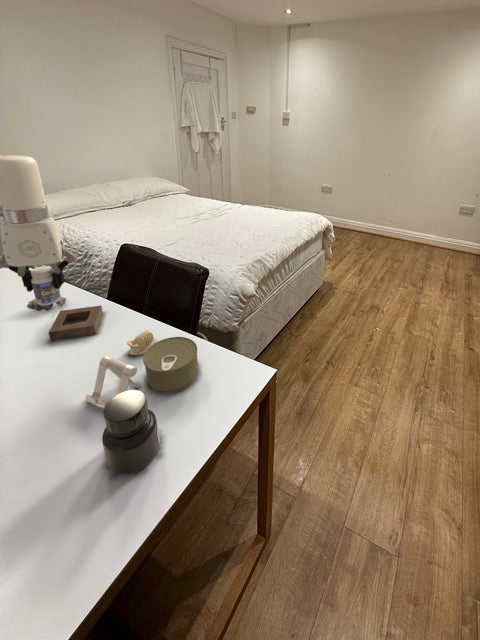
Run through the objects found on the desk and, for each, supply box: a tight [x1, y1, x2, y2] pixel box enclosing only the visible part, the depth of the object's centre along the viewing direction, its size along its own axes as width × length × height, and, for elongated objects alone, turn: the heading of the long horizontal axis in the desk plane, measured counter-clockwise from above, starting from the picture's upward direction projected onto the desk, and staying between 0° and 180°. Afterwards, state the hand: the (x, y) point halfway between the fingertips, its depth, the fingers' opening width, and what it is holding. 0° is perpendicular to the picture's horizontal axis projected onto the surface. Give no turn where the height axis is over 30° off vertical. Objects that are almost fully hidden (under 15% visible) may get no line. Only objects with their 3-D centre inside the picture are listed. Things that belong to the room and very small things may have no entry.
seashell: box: [26, 296, 67, 312], centre depth 101 cm, size 5×5×10 cm
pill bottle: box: [30, 265, 62, 305], centre depth 76 cm, size 5×5×8 cm
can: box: [143, 336, 199, 395], centre depth 78 cm, size 12×12×7 cm
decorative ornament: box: [126, 330, 155, 356], centre depth 86 cm, size 4×8×5 cm, turn 157°
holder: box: [48, 305, 104, 342], centre depth 94 cm, size 11×11×3 cm
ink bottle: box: [101, 389, 161, 475], centre depth 59 cm, size 10×9×12 cm
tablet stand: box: [85, 355, 139, 410], centre depth 71 cm, size 9×8×8 cm
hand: (45, 286), depth 76 cm, fingers closed on pill bottle, 4 cm apart
